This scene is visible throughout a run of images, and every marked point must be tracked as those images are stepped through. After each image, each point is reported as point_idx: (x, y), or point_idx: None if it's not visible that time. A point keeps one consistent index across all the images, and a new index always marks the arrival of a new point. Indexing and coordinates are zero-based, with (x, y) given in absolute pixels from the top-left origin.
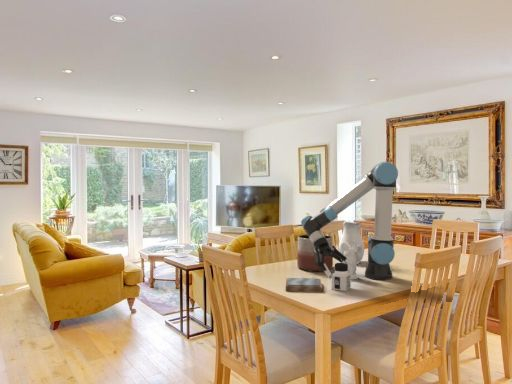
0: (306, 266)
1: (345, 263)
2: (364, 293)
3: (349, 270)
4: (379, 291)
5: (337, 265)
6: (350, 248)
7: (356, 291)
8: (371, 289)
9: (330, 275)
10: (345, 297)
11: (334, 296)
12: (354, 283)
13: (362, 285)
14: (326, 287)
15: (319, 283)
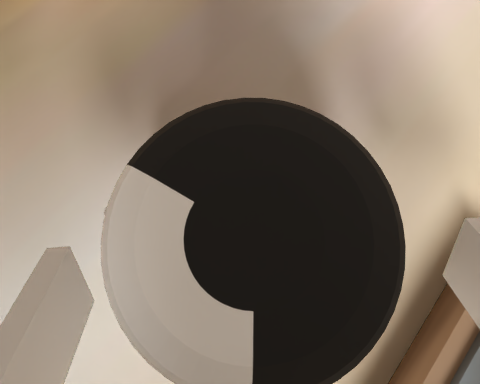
0: None
1: (160, 181)
2: (183, 49)
3: (63, 252)
4: (43, 32)
5: (397, 204)
6: None
7: None
8: (46, 100)
9: (457, 240)
10: (383, 44)
11: (444, 102)
12: None
13: (3, 231)
14: None
15: (478, 350)
